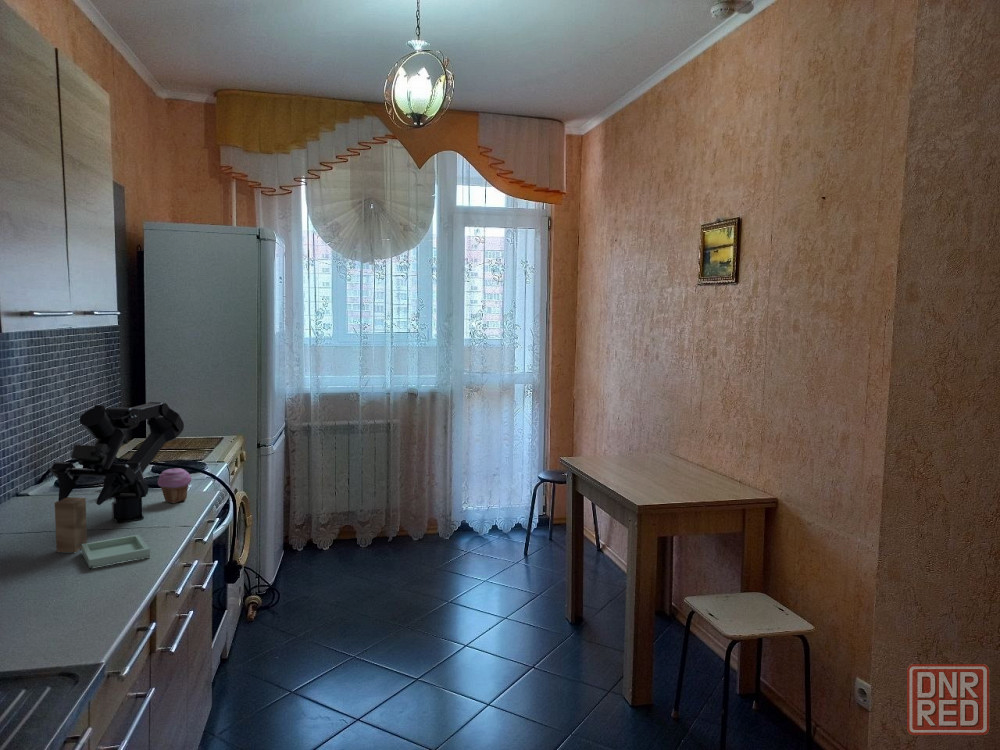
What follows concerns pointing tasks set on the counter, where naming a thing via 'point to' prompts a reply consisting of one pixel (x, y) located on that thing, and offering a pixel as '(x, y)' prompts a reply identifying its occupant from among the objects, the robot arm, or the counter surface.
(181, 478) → the cupcake
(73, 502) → the tan wooden block
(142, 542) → the tray
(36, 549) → the counter surface
